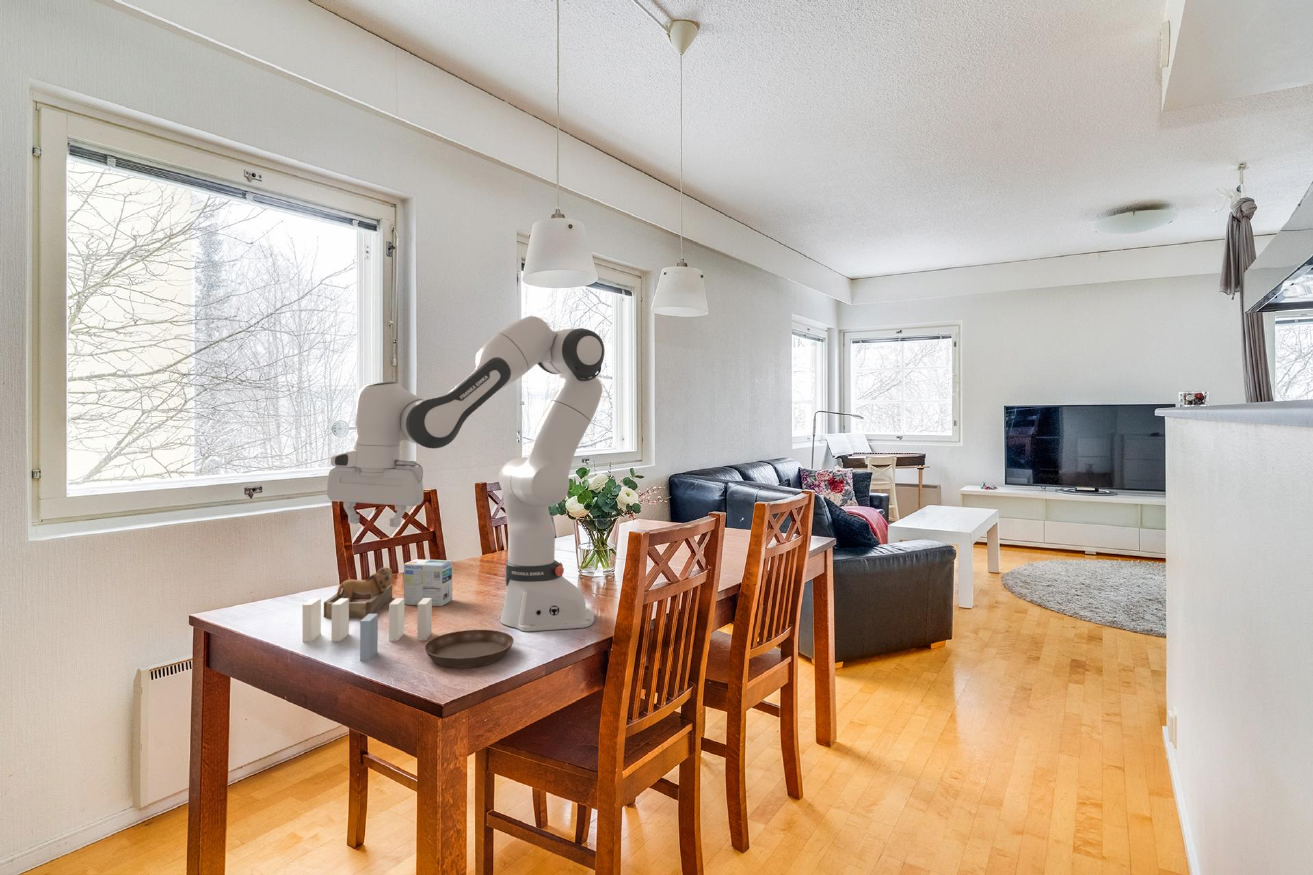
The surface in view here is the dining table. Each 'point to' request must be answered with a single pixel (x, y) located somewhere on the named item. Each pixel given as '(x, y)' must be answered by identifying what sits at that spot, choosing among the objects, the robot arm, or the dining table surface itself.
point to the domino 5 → (424, 619)
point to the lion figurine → (367, 584)
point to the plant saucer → (468, 648)
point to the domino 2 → (340, 619)
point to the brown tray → (360, 604)
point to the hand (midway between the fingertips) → (374, 524)
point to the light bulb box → (428, 581)
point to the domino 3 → (368, 637)
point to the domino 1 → (311, 619)
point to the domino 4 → (396, 619)
